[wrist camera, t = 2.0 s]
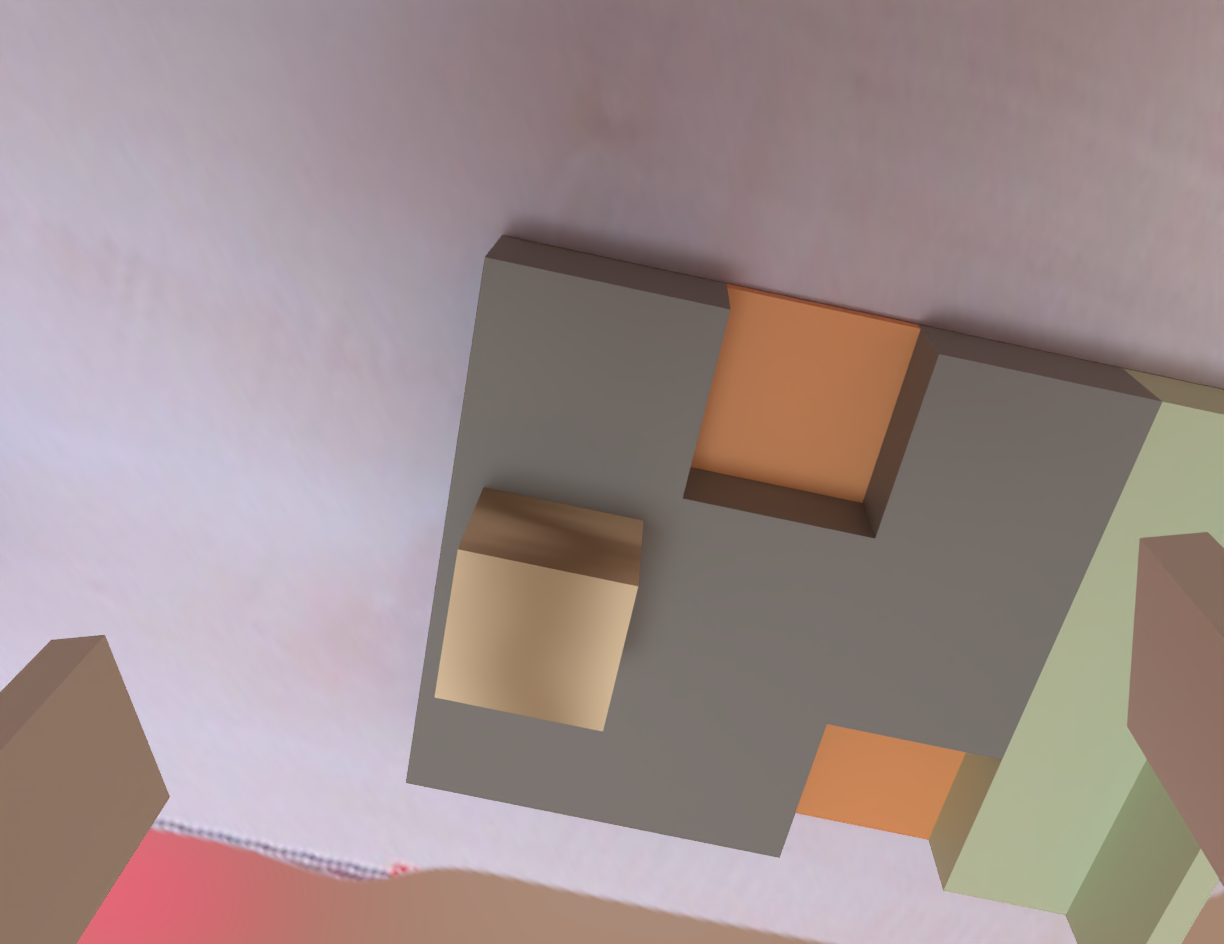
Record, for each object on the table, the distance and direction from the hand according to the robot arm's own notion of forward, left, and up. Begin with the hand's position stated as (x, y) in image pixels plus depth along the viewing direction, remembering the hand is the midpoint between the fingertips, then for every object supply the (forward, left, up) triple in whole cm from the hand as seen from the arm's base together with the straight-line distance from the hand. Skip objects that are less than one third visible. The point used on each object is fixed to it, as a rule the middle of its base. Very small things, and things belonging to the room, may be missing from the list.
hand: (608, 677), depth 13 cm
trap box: (+8, -9, -21) cm, 24 cm away
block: (-1, -9, -18) cm, 20 cm away
